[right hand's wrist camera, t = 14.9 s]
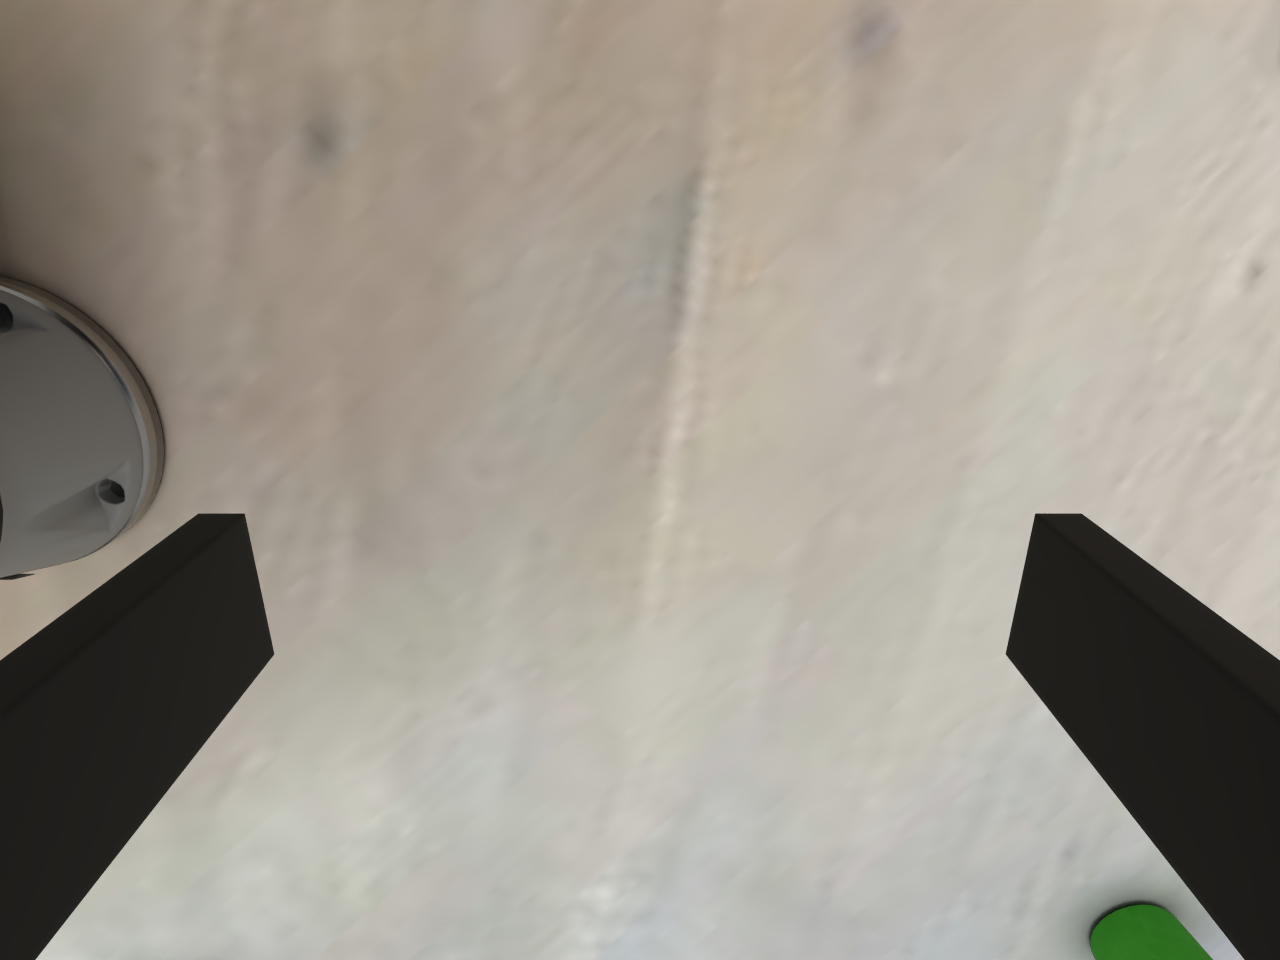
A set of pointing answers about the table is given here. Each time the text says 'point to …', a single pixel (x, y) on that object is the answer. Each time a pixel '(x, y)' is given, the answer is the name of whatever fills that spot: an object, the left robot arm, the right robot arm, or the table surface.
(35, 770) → the right robot arm
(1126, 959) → the potted flower
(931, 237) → the table surface
